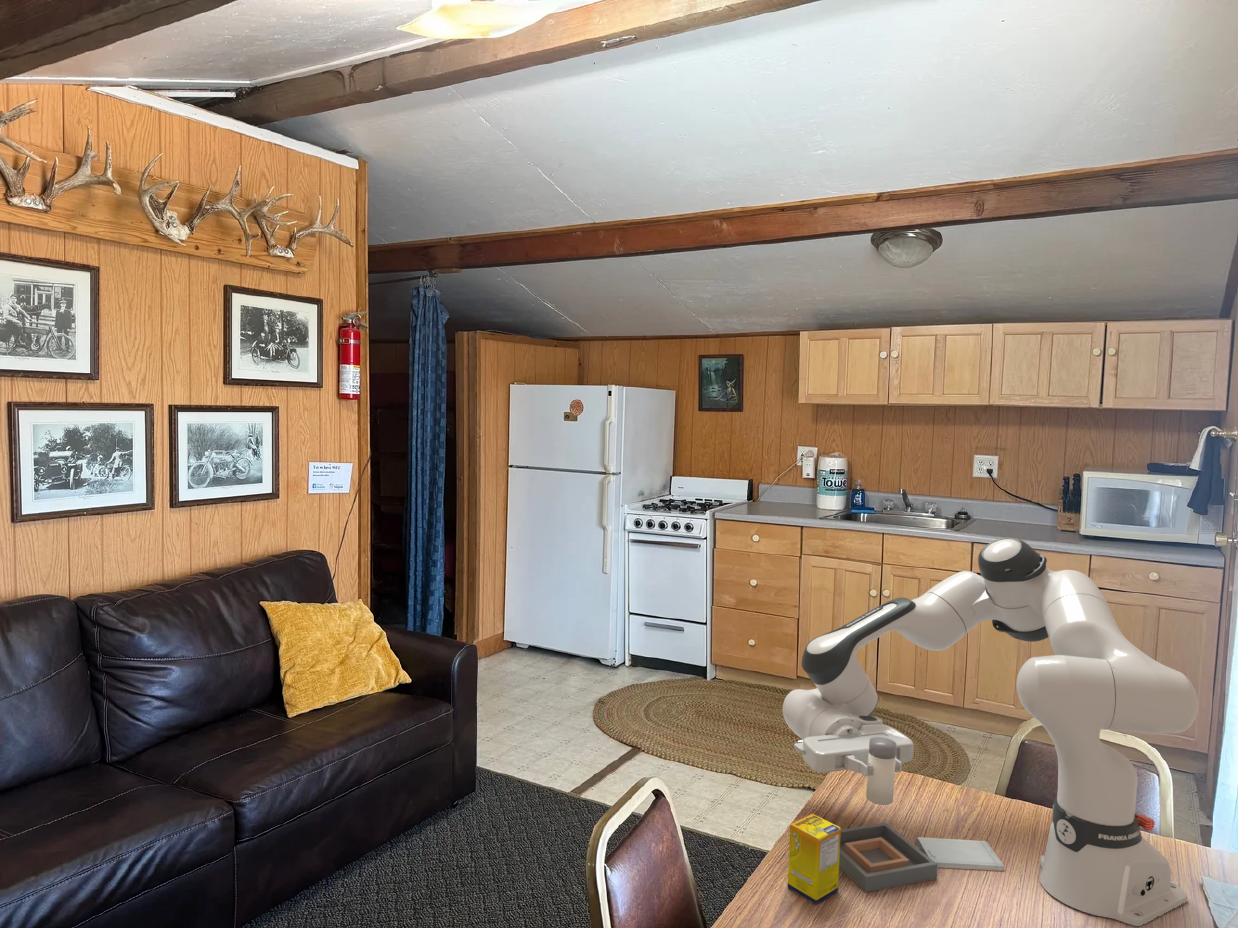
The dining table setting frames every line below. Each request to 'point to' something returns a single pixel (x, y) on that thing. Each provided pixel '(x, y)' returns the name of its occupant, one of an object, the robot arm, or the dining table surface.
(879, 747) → the white bottle
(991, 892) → the dining table surface
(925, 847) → the hard drive
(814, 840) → the supplement box
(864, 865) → the walled box
